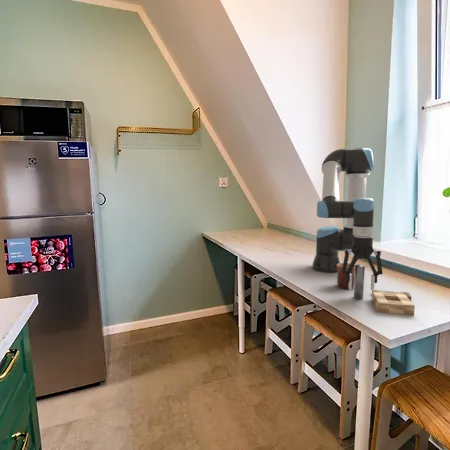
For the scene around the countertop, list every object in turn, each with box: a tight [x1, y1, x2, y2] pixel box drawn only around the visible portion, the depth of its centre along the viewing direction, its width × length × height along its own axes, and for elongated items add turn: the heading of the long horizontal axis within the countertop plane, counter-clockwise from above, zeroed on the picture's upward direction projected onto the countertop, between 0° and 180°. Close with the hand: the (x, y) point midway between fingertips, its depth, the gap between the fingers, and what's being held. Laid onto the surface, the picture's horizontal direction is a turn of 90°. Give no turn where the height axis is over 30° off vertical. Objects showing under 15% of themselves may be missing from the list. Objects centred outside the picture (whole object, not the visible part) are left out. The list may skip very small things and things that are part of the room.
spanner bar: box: [371, 289, 412, 302], centre depth 130 cm, size 14×5×2 cm, turn 71°
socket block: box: [371, 291, 416, 316], centre depth 120 cm, size 12×12×4 cm
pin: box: [353, 263, 366, 300], centre depth 129 cm, size 4×4×14 cm
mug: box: [336, 262, 356, 290], centre depth 142 cm, size 12×9×10 cm
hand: (361, 289), depth 129 cm, fingers open, 8 cm apart
